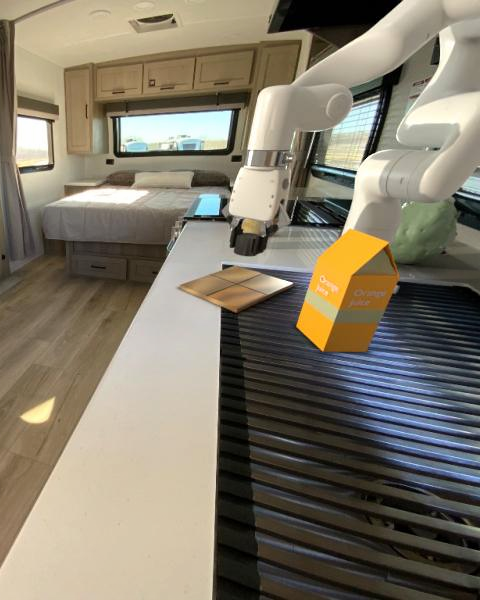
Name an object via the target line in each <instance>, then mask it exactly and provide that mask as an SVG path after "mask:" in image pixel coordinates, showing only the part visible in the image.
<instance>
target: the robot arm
mask: <svg viewBox="0 0 480 600" xmlns="http://www.w3.org/2000/svg"><path fill="white" fill-rule="evenodd" d="M437 35H439V49H440V54H439V55H440V56H439V63H438V66H437V69H436V71H435V72H434V74H433V76H432V78H431V79H430V80H429V82H428V83H427V84H426V86H425V88H424V89H423V90H422V92H421V93H420V94H419V96H418V98H416V100H415V101H414V103H413V105H412V106H411V107H410V108H409V110H408V111H407V113H406V115H405V116H404V117H403V118H402V121H401V122H400V124H399V125H398V128H397V130H396V135H395V136H396V140H397V141H398V142H399V143H400V144H401V145H404V146H407V147H413V148H423V149H411V148H410V149H408V148H407V149H405V148H404V149H403V148H395V149H394V148H392V149H391V148H390V149H384V150H380V151H376V152H375V153H372V154H371V155H369V156H368V157H367V158H366V159H364V160H363V161H362V162H361V163H360V165H359V167H358V168H357V171H356V175H355V178H354V188H353V189H354V190H353V196H352V201H351V205H350V207H349V208H350V209H349V212H348V215H347V218H346V221H345V224H344V226H343V230H342V233H341V235H340V237H341V236H342V235H343V234H344V233H345V232H347V231H348V230H349V229H353V230H356V231H359V232H361V233H364V234H367V235H370V236H373V237H375V238H378V239H381V240H384V241H387V242H389V243H388V244H389V247H391V245H392V242H393V240H394V237H395V235H396V233H397V230H398V228H399V226H400V223H401V220H402V202H401V201H407V202H408V201H414V202H421V203H436V202H440V201H443V200H445V199H447V198H449V197H450V196H451V197H453V195H455V194H456V192H458V191H459V190H460V189H461V188H462V186H463V185H464V184H465V183H466V182H467V181H468V180H469V178H470V177H471V176H472V175H473V174H474V172H475V171H476V170H477V169H478V168H479V166H480V0H401V2H400V3H398V4H397V5H396V6H395V7H394V8H392V10H391V11H389V12H388V13H387V14H386V15H385V16H384V17H382V18H381V19H380V20H379V21H378V22H377V23H376V24H374V25H373V26H372V27H371V28H369V30H367V31H366V32H364V33H363V34H362V35H360V36H358V37H357V38H355V39H353V40H351V41H350V42H348V43H347V44H345V45H344V46H342V47H341V48H339V49H338V50H336V51H335V52H333V53H331V54H330V55H328V56H327V57H325V58H324V59H322V60H320V61H319V62H317V63H316V64H314V65H313V66H311V67H310V68H308V69H307V70H306V71H304V72H303V73H302V74H301V75H300V76H298V77H297V78H296V79H295V80H294V81H293V82H292V83H290V84H280V85H279V84H278V85H272V86H267V87H265V88H263V89H262V90H261V91H260V92H259V93H258V95H257V98H256V104H255V108H254V115H253V118H252V122H251V123H252V124H251V128H250V134H249V140H248V144H247V148H246V149H247V150H246V154H245V157H244V158H245V159H244V164H243V166H241V167H240V169H239V171H238V174H237V176H236V179H235V182H234V185H233V188H232V190H231V195H230V200H229V202H228V203H227V204H226V205H225V206H224V207H223V208H222V210H221V214H222V215H223V216H224V218H225V219H226V221H227V223H228V225H229V229H230V230H231V233H230V238H229V249H234V247H235V242H236V237H237V234H238V233H243V229H242V225H243V223H244V221H245V219H251V220H256V221H259V224H260V234H259V236H257V237H256V240H255V244H254V249H253V254H255V255H256V256H258V255H260V254H262V253H264V251H266V249H267V246H268V242H269V237H270V236H272V235H273V234H272V233H274V232H275V231H277V230H278V229H279V230H280V229H283V228H284V227H287V226H288V225H291V219H290V217H289V215H288V213H287V211H286V210H287V207H288V201H289V197H290V189H291V175H292V171H291V168H288V166H289V164H294V163H295V162H296V160H297V155H296V154H293V153H292V147H293V142H294V139H295V135H296V132H305V133H306V132H307V133H309V132H324V131H327V130H331V129H332V128H335V127H337V126H338V125H340V124H341V123H342V122H344V120H345V119H347V118H348V116H349V115H350V113H351V111H352V108H353V104H354V98H353V97H354V96H353V94H352V91H351V90H350V89H351V88H353V87H356V86H357V87H358V86H360V85H363V84H365V83H368V82H371V81H374V80H376V79H378V78H380V77H383V76H385V75H387V74H389V73H391V72H393V71H394V70H396V69H397V68H399V67H400V66H402V64H404V63H405V62H406V61H407V60H408V59H410V58H411V57H412V56H413V55H414V54H415V53H416V52H418V51H419V50H420V49H421V48H422V47H423V46H425V45H426V44H427V43H428V42H429V41H431V40H432V39H433V38H434V37H436V36H437ZM424 148H427V150H426V149H424ZM430 148H431V149H433V148H434V149H438V150H429V149H430ZM273 219H274V220H278V219H279V221H278V222H277V223H275V224H273ZM279 230H278V231H279ZM278 231H277V232H278ZM271 234H272V235H271ZM274 234H275V233H274ZM269 235H270V236H269ZM399 289H400V285H397V284H396V286H395V289H394V291H393V293H392V295H396V294H397V293H398V292H399Z"/></svg>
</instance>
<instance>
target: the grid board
mask: <svg viewBox="0 0 480 600" xmlns="http://www.w3.org/2000/svg"><path fill="white" fill-rule="evenodd" d="M293 286H294V282H291V281H287V280H284V279H281V278H278V277H274V276H271V275H268V274H266V273H263V272H259V271H255V270H252V269H250V268H246V267H243V266H239V265H234V266H231V267H228V268H224V269H222V270H219V271H216V272H213V273H209V274H208V275H205V276H202V277H199V278H195V279H193V280H189V281H187V282H184V283H181V284H179V288H178V289H179V290H182V291H183V292H186V293H188V294H191V295H193V296H195V297H198V298H201V299H202V300H206V302H207V301H208V302H210V303H212V304H215V305H217V306H220V307H222V308H224V309H226V310H229V311H231V312H233V313H236V314H237V313H239V312H242V311H244V310H246V309H248V308H250V307H252V306H254V305H257V304H259V303H261V302H263V301H265V300H267V299H270V298H271V297H274V296H276V295H277V294H280V293H282V292H284V291H287V290H288V289H291V288H293Z"/></svg>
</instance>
